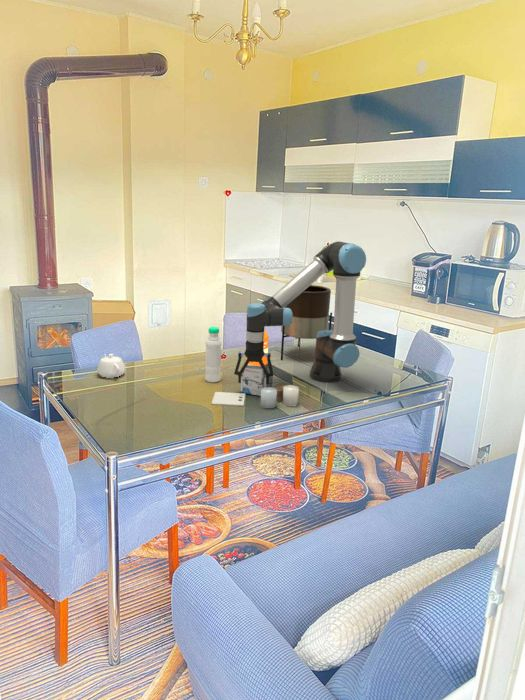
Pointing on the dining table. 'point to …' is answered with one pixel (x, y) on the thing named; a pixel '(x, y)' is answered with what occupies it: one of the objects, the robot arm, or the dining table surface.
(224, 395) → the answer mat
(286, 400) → the cream rounded-top cylinder
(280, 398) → the walnut block
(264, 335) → the orange juice
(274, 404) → the domed pale cylinder
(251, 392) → the ink box
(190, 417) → the dining table surface
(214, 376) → the water bottle
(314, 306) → the planter
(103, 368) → the teapot
